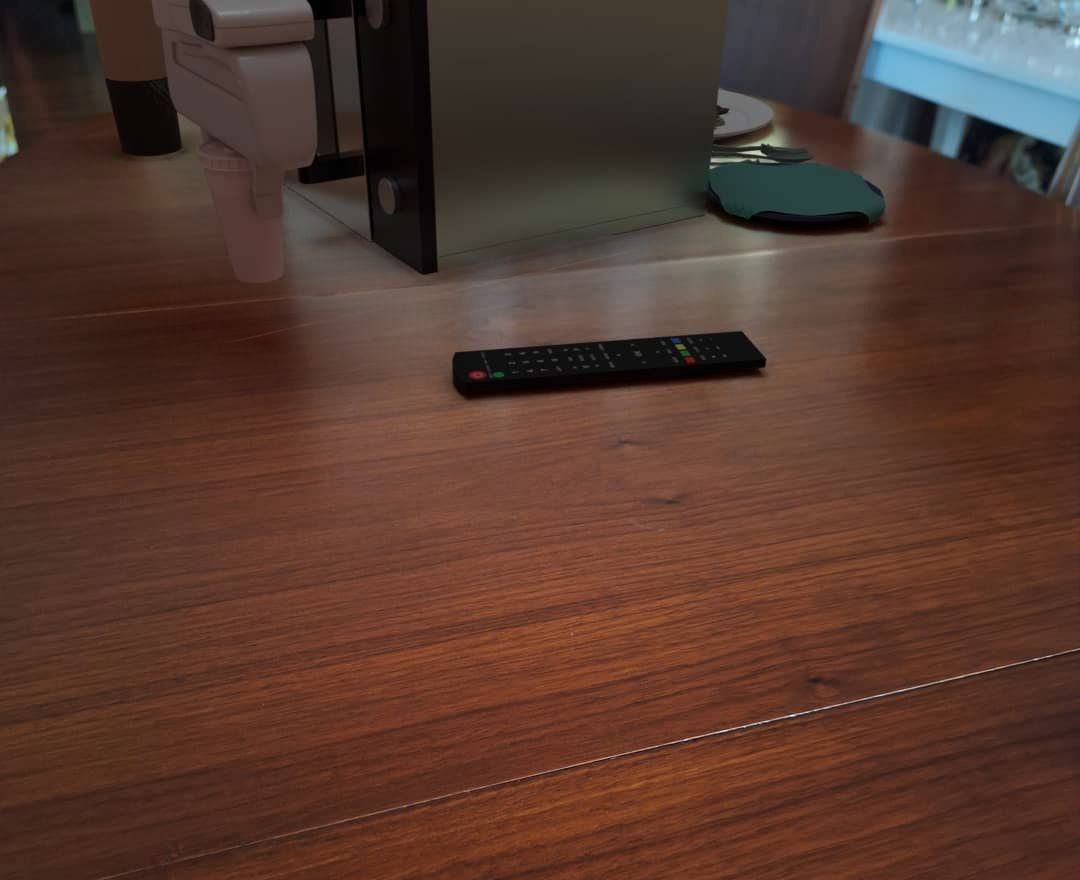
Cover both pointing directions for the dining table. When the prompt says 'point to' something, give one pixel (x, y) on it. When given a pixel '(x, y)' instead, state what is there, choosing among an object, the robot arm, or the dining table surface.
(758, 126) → the plated food
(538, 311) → the dining table surface
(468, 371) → the remote control
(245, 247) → the smoothie
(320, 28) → the microwave door
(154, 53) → the travel mug
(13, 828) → the dining table surface
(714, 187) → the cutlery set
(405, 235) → the microwave
